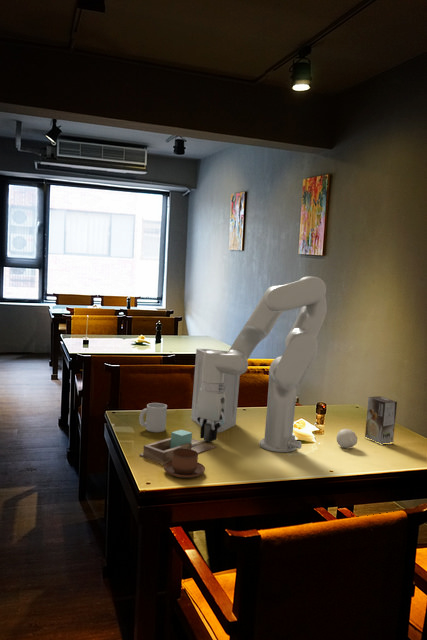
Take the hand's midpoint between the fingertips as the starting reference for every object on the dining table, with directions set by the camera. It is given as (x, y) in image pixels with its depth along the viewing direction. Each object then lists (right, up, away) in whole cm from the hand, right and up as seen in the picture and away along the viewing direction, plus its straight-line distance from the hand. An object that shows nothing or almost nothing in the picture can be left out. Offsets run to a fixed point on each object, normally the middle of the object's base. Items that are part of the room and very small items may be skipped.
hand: (208, 438), depth 187 cm
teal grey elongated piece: (-5, -1, -6) cm, 8 cm away
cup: (-21, +1, +9) cm, 23 cm away
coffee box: (+64, -5, +16) cm, 66 cm away
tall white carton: (+3, 0, +22) cm, 23 cm away
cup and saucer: (-7, -4, -30) cm, 31 cm away
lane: (-9, -2, -12) cm, 15 cm away
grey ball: (+49, -5, +5) cm, 49 cm away
